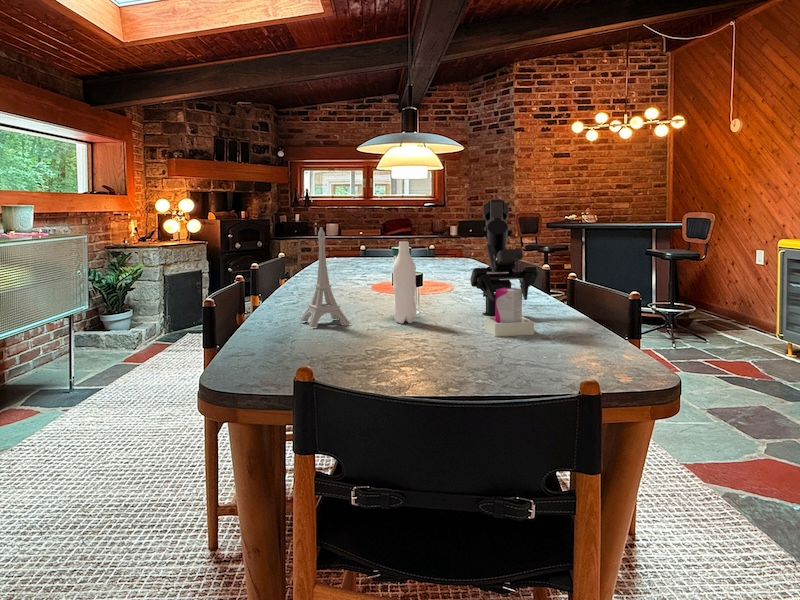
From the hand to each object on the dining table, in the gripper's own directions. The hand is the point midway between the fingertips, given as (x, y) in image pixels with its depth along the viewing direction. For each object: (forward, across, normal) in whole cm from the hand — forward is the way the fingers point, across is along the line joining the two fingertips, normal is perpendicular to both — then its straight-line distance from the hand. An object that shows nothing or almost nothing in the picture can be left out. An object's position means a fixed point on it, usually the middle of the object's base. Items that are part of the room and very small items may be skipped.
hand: (510, 299), depth 177 cm
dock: (+6, 0, +8) cm, 9 cm away
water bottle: (-10, -26, +23) cm, 36 cm away
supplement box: (+5, 0, +7) cm, 9 cm away
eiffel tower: (-12, -51, +25) cm, 58 cm away
